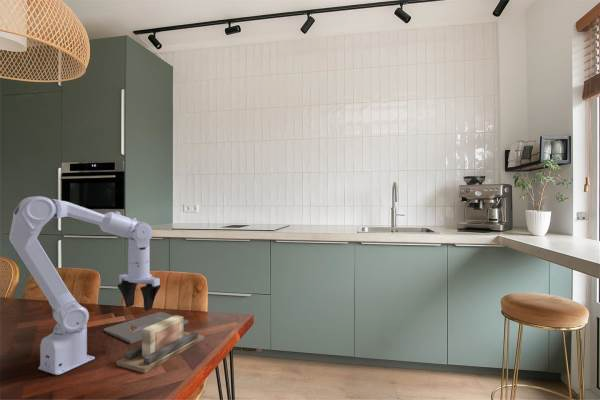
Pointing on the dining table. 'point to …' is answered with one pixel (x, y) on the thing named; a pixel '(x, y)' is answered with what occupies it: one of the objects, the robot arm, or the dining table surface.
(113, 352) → the dining table surface
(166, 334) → the cream rectangular block
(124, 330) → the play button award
